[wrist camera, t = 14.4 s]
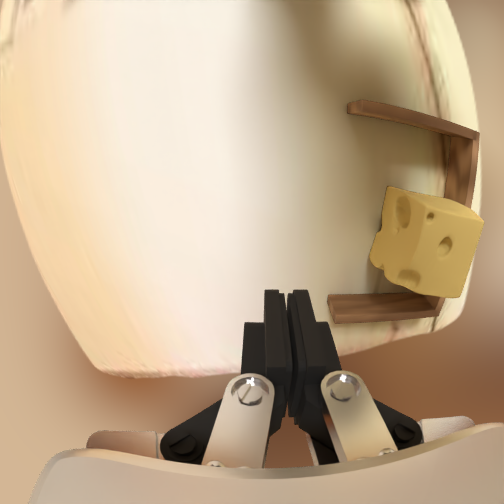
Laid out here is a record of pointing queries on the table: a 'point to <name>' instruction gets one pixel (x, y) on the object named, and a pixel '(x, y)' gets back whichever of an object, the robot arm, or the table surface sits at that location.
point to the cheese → (426, 242)
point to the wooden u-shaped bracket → (457, 189)
